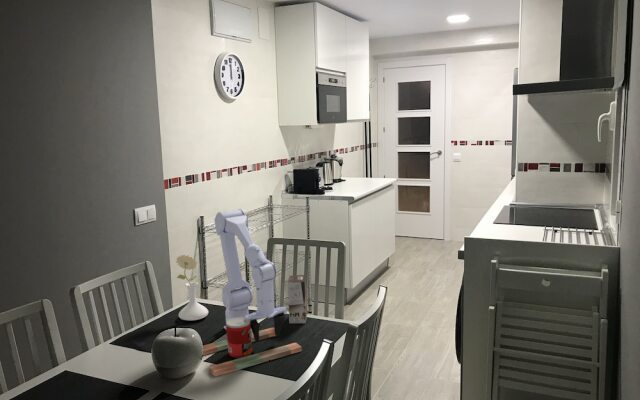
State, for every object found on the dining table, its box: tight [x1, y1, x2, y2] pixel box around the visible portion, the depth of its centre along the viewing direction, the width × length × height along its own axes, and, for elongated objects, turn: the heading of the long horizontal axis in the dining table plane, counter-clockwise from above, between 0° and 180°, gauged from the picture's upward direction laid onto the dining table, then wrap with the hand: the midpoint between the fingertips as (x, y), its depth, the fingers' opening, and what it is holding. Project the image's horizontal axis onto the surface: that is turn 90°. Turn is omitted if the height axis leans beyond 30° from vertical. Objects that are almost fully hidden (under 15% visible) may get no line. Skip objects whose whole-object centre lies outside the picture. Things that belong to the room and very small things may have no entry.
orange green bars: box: [202, 326, 303, 377], centre depth 172 cm, size 20×30×2 cm, turn 122°
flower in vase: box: [175, 254, 209, 322], centre depth 202 cm, size 13×11×25 cm
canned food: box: [225, 317, 253, 359], centre depth 170 cm, size 8×8×11 cm
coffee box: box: [287, 274, 308, 324], centre depth 198 cm, size 9×6×16 cm
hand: (267, 337), depth 176 cm, fingers open, 7 cm apart
